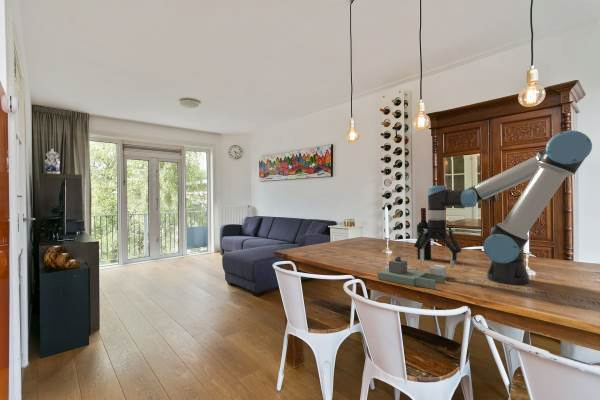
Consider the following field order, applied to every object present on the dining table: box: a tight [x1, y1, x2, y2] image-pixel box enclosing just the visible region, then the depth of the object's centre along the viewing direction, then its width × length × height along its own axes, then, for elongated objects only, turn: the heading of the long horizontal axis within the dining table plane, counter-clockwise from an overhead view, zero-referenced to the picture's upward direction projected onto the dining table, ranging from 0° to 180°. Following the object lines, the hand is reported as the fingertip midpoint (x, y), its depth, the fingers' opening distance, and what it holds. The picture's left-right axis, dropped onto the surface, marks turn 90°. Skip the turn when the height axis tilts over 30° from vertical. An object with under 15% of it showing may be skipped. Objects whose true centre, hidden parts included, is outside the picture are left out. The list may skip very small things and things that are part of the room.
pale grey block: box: [428, 264, 447, 278], centre depth 138 cm, size 5×7×5 cm
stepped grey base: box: [377, 255, 446, 290], centre depth 134 cm, size 25×14×10 cm, turn 45°
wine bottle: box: [416, 207, 432, 261], centre depth 177 cm, size 8×8×30 cm
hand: (436, 265), depth 138 cm, fingers open, 13 cm apart
